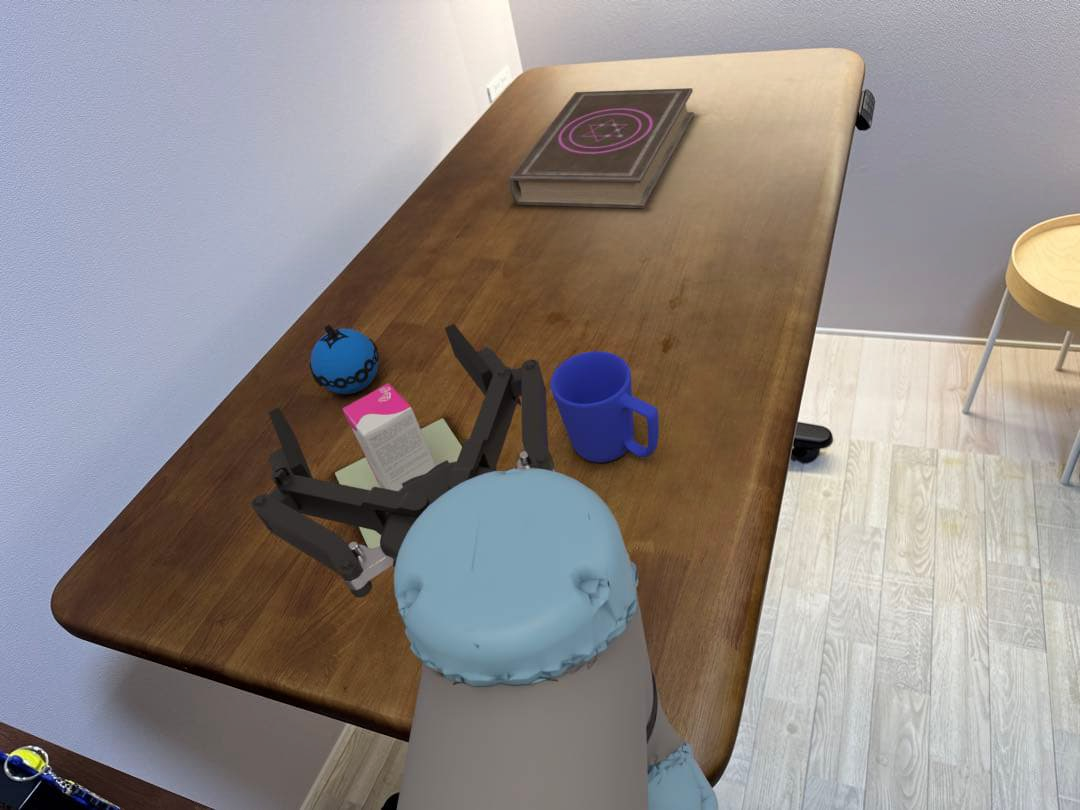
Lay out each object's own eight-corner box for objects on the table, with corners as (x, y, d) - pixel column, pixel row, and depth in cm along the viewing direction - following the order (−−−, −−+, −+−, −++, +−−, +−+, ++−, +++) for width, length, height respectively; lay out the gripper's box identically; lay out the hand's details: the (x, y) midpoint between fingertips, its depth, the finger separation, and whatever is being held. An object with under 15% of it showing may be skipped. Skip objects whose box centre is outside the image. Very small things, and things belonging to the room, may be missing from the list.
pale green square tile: (373, 558, 81) (371, 555, 80) (336, 475, 90) (334, 472, 90) (492, 494, 84) (491, 490, 83) (444, 421, 93) (442, 417, 93)
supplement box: (444, 481, 85) (412, 407, 78) (398, 511, 84) (360, 438, 76) (421, 453, 89) (388, 380, 82) (376, 481, 88) (338, 409, 80)
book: (643, 208, 119) (640, 179, 115) (513, 204, 128) (506, 177, 124) (694, 115, 137) (692, 87, 134) (577, 117, 146) (572, 91, 143)
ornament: (400, 380, 101) (374, 320, 94) (345, 418, 97) (313, 358, 91) (367, 355, 106) (339, 296, 99) (313, 390, 103) (281, 331, 96)
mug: (639, 499, 79) (627, 432, 72) (552, 452, 86) (533, 387, 79) (685, 448, 83) (678, 380, 76) (598, 407, 90) (585, 341, 83)
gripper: (300, 746, 41) (229, 494, 56) (690, 519, 47) (531, 345, 61) (235, 680, 36) (176, 422, 51) (681, 434, 41) (510, 266, 56)
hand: (370, 380), depth 56 cm, fingers open, 13 cm apart
